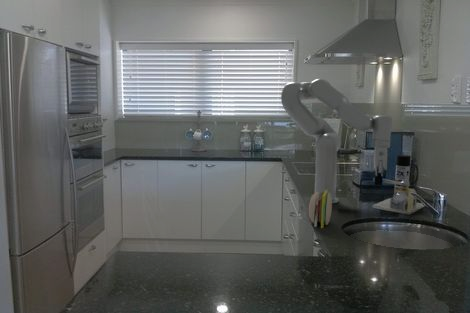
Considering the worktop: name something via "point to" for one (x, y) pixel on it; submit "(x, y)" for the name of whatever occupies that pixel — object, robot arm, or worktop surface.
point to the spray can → (402, 169)
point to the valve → (400, 202)
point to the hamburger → (320, 208)
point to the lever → (394, 182)
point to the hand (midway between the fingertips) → (378, 184)
